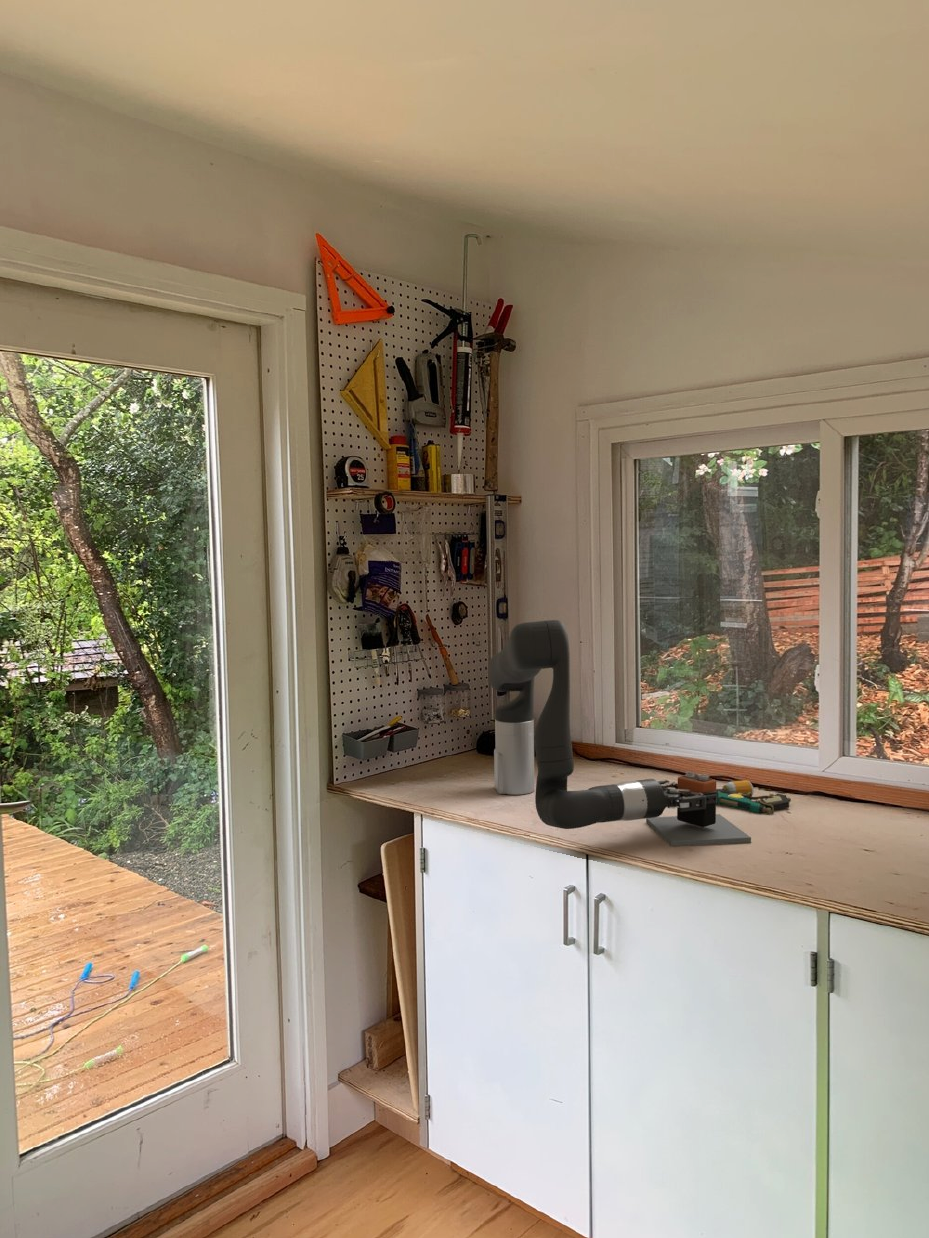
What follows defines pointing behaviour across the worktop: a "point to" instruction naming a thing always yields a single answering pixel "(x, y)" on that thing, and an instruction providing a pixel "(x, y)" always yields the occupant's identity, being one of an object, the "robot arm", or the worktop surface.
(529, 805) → the worktop surface
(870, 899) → the worktop surface
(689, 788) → the battery
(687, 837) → the mat
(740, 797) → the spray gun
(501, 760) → the robot arm
